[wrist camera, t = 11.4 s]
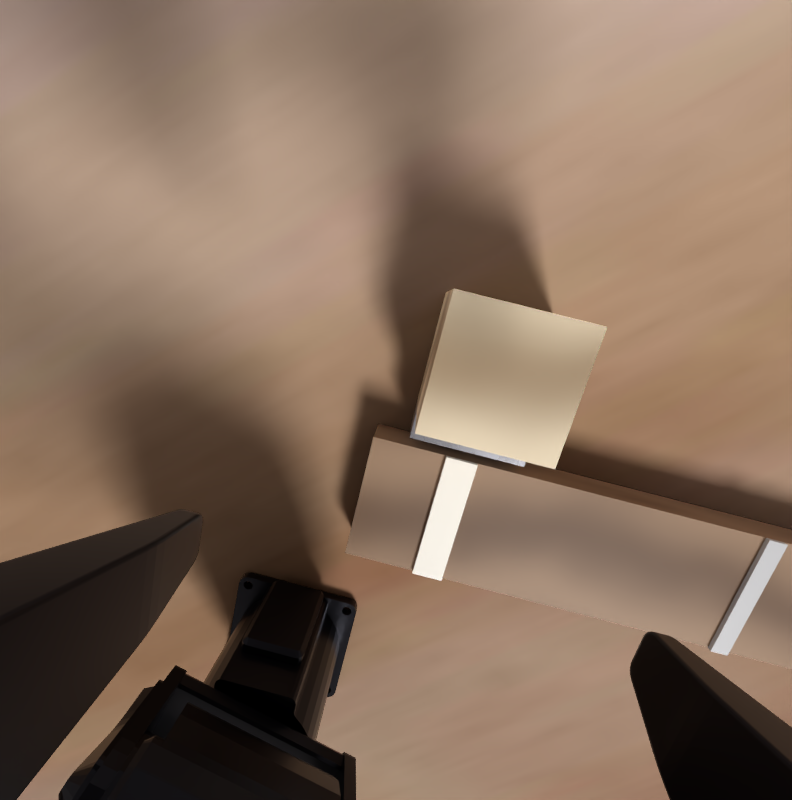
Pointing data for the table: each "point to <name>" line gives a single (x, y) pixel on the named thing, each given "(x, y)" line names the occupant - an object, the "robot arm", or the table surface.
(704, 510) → the walnut plank
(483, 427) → the cream cube
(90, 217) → the table surface
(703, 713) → the robot arm
